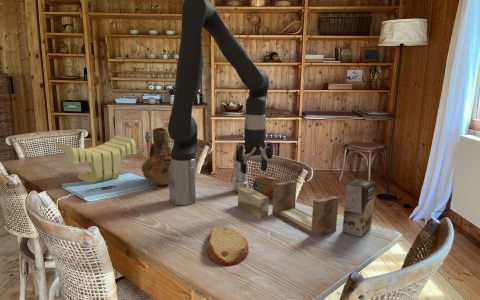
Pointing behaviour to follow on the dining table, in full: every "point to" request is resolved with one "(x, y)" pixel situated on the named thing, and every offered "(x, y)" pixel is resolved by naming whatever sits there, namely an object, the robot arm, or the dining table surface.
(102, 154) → the yellow slatted rack
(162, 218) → the dining table surface
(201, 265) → the dining table surface
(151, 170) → the ceramic vessel
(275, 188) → the holder
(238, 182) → the grey bottle
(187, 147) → the robot arm
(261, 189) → the tin
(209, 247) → the slice of bread
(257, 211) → the birch block
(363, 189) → the coffee box
